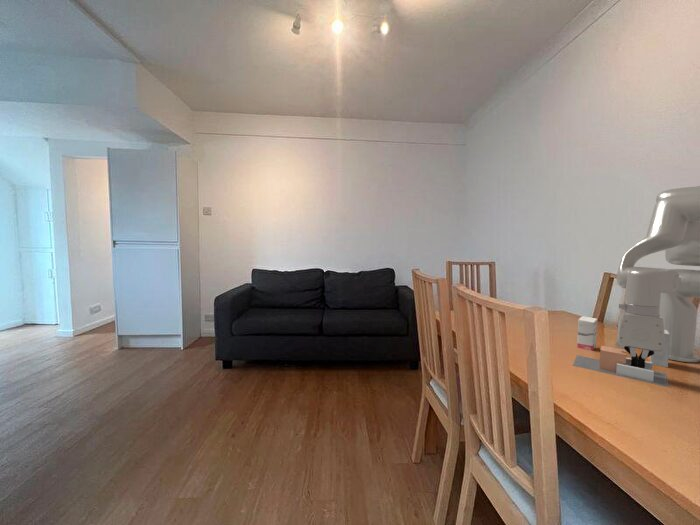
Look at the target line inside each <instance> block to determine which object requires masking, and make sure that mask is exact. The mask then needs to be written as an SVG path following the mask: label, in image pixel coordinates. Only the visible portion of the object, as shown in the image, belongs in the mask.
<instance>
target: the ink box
mask: <svg viewBox="0 0 700 525" xmlns="http://www.w3.org/2000/svg"><path fill="white" fill-rule="evenodd" d="M577 323H578V326H577V341H576V342H577V346H576V348H578V349H583V350H587V351H593V350H594V349H596V348H597V334H598V333H597V332H598V318H594V317H589V316H584V315H583V316H581V317H580V318H578V320H577Z"/></svg>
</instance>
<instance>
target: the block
mask: <svg viewBox="0 0 700 525" xmlns="http://www.w3.org/2000/svg"><path fill="white" fill-rule="evenodd" d="M600 346H601V347H600V352H599V360H600V367H599V368H600V369H604V370H609V371H613V372H616V368H617V363H619V364H623V365H626V357H627V351H626V350H625V349H622V348H618V347H611V346H605V345H600Z"/></svg>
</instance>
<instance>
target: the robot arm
mask: <svg viewBox="0 0 700 525" xmlns="http://www.w3.org/2000/svg"><path fill="white" fill-rule="evenodd" d="M655 200H656V201H655V204H654V206H653V211H652V214H651V218H650V221H649V225H648V229H647V232H646V235H645V237H644V238H643V239H641V240H640V241H638V242H636V243H635V244H634V245H632V246H631V247H629V249H627V250H626V252H624V254H623V255H622V258H621V259H620V262H619V266H618V270H617V273H616V282H617V284H618V286H619V287H620V288H622V289H625V300H624V301H625V302H624V303H622V304H620V303H619V304H618V309H621V310H623V311H622V312H621V313H620V317H619V320H618V326H617V331H616V332H617V334H616V342H615V347H616V348H618V349H623V350H626V353H628V354H629V355H630V356H631V357H630V358H631V366H634V367H638V368H645V361H646V359H648V357H649V356H651V355H664V350H663V349H664V330H667V331H668V332H669V334H670V343H669V357H668V360H671V361H677V362H682V363H700V356H699V355H697V354H695V342H696V341H695V340H696V332H697V331H696V330H697V316H698V310H697V307H696V305H695V304H694V303H693V302H692V300H690V299H689V298H695V299H700V269H699V270H698V269H697V270H696V269H686V268H684V269H683V268H682V269H681V268H659V267H658V268H657V267H643V266H635V265H636V264H637V262H638V261H639V260H641V259H642V258H644V257H647V256H649V255H652V254H655V253H659V252H662V251H664V252H665V255H664V256H665V260H666V262H667V263H669V264H671V265H674V266H675V265H676V266H686V267H688V266H690V267H700V185H699V186H698V185H697V186H688V187H678V188H670V189H666V190H663V191H661V192H659V193H658V194H657V196H656V198H655ZM636 349H639V350H641V351H640V353H639V355H638V353H637V352H636Z"/></svg>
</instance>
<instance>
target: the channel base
mask: <svg viewBox="0 0 700 525" xmlns="http://www.w3.org/2000/svg"><path fill="white" fill-rule="evenodd" d="M572 366H573V367H576V368H582V369H587V370H591V371H595V372H600V373H604V374H608V375H612V376H617V377H621V378H626V379H630V380H634V381H640V382H644V383H649V384H653V385H657V386H662V387H666V388H671V387H670V383H669V381H668V377H667V373H665V372H660V371H656V370H653V368H652V367H653V364H652V362H649V361H648V360H647V361H646V360H645V368H638V367H634V366H631V357H627V356H626V365H623V364H619V363H617V368H616V372H613V371H609V370H604V369H600V368H599V367H600V359H597V358H593V357H588V356H584V355H583V356H582V355H576V357H575V360H574V361H573V364H572Z"/></svg>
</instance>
